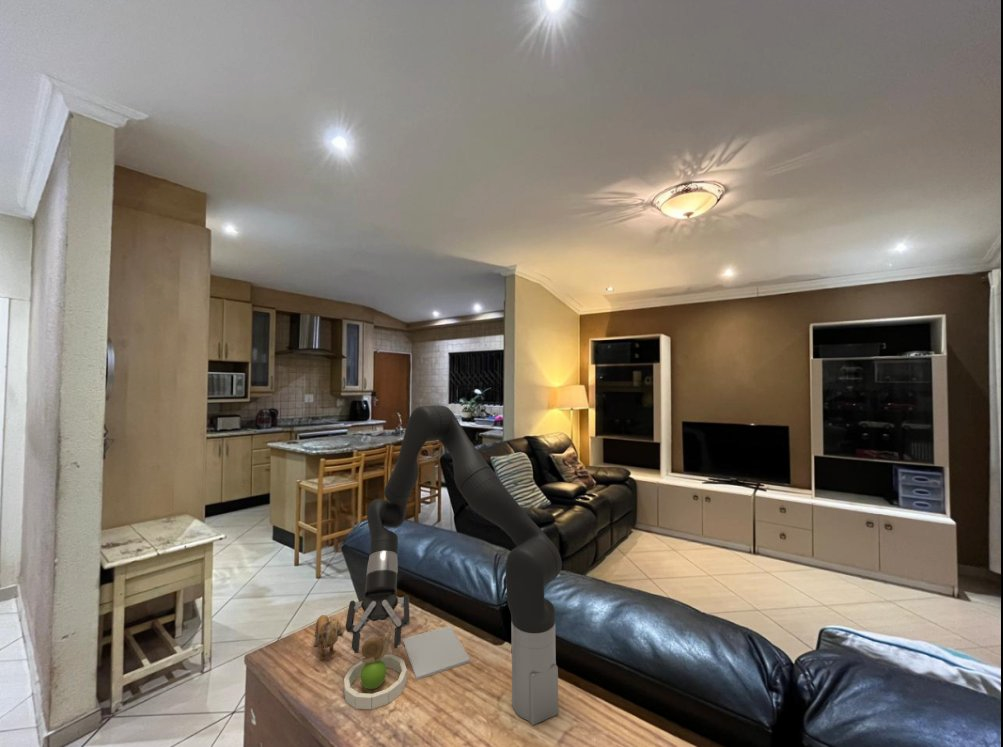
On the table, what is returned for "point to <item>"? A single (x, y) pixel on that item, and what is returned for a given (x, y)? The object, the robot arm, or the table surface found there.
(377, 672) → the snail figurine
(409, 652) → the rubber mat
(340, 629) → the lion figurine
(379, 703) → the ceramic ring
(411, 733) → the table surface
